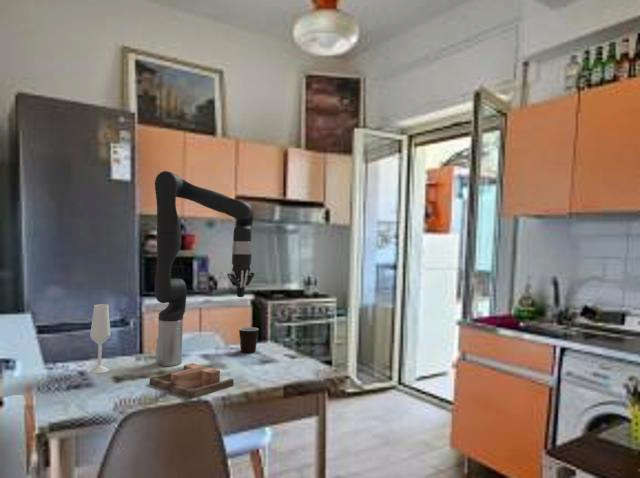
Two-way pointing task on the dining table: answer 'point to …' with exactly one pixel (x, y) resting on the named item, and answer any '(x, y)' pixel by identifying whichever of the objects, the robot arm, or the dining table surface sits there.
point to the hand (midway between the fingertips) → (240, 296)
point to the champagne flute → (100, 332)
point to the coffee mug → (248, 339)
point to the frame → (162, 383)
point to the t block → (195, 376)
